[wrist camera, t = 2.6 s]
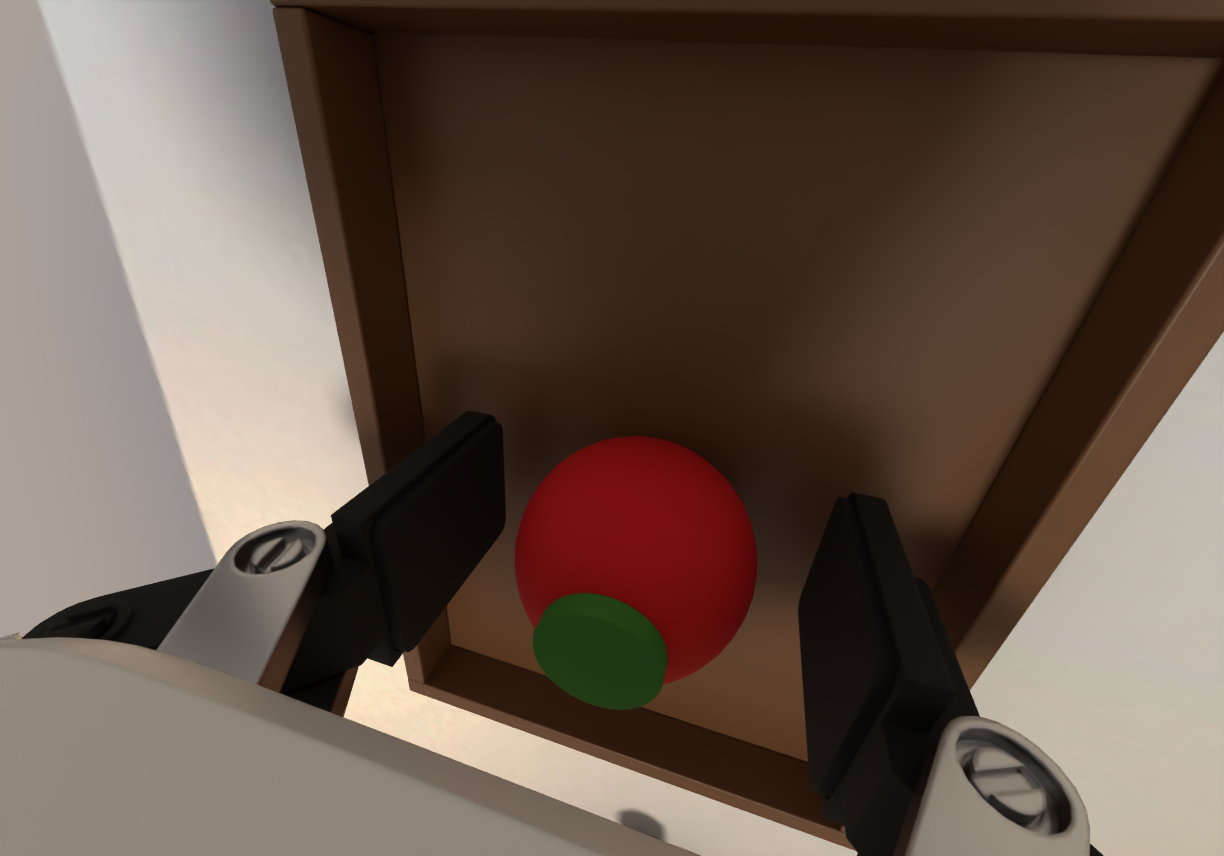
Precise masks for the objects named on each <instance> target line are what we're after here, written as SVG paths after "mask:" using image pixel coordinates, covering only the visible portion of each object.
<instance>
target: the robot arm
mask: <svg viewBox="0 0 1224 856" xmlns="http://www.w3.org/2000/svg"><path fill="white" fill-rule="evenodd" d="M331 518H332V522H333V523H331V524H330V525H329V526H328V527H326V528H325V529H322V528H321V527H320V526H319V525H317V524H315V523H311V522H308V521H294V520H293V521H286V522H278V523H275V524H272V525H268V526H265V527H262V528H260V529H258V530H256V531H253V532H251V533H249V534H247V535H246V536H245V537H243V538H242V539H240V540H239V541H237V542H236V543H235V544H234V545H233V546H232V547H231V548H230V549H229V550H228V551H227V552H226V554H225V555H224V556H223V558H222V559H221V561H220V562H219V563H218V565H217V566H216V568H215V569H210V570H206V571H202V572H198V573H194V574H190V575H186V576H182V577H177V578H174V579H169V580H165V581H161V582H157V583H153V584H149V585H145V586H141V587H137V588H132V589H129V590H124V591H120V592H116V593H112V594H108V595H104V596H100V597H96V598H93V599H90V600H87V601H83V602H80V603H77V604H75V605H73V606H70V607H68V608H66V609H64V610H62V611H60V612H58V613H56V614H54V615H53V616H51V617H50V618H48V619H46V620H45V621H43V622H41V623H40V624H38V625H37V626H36V627H34V628H33V629H32V630H31V631H30V632H28V633H27V634H26V635H25V636H24V637H22V636H21V635H20V634H19V633H16V634H12V635H9V636H5V637H2V638H0V856H700V855H697V854H695V853H692V852H689V851H687V850H684V849H682V848H679V847H677V846H674V845H672V844H669V843H667V842H664V841H661V840H659V839H656V838H654V837H651V836H649V835H646V834H644V833H641V832H639V831H636V830H633V829H631V828H628V827H626V826H623V825H621V824H618V823H616V822H613V821H611V820H608V819H605V818H603V817H600V816H598V815H595V814H593V813H590V812H587V811H585V810H582V809H580V808H577V807H575V806H572V805H569V804H567V803H564V802H562V801H559V800H556V799H554V798H551V797H549V796H546V795H544V794H541V793H538V792H536V791H533V790H531V789H528V788H526V787H523V786H520V785H518V784H515V783H513V782H510V781H507V780H505V779H502V778H500V777H497V776H495V775H492V774H489V773H487V772H484V771H482V770H479V769H476V768H474V767H471V766H469V765H466V764H463V763H461V762H458V761H456V760H453V759H451V758H448V757H445V756H443V755H440V754H438V753H435V752H432V751H430V750H427V749H425V748H422V747H419V746H417V745H414V744H412V743H409V742H406V741H404V740H401V739H399V738H396V737H393V736H391V735H388V734H385V733H383V732H380V731H378V730H375V729H372V728H370V727H367V726H364V725H362V724H359V723H357V722H354V721H351V720H349V719H346V718H343V717H344V714H345V711H346V707H347V704H348V700H349V697H350V694H351V690H352V687H353V684H354V680H355V677H356V674H357V670H358V666H360V665H362V664H363V663H364V661H365V660H366V659H367V658H368V659H371V660H374V661H376V662H379V663H382V664H385V665H388V666H391V667H393V666H394V664H395V663H396V662H397V660H398V659H399V658H400V656H401V655H402V654H403V653H404V651H405V652H410V651H412V650H413V649H414V648H415V647H416V646H417V645H418V643H419V642H420V641H421V639H422V638H423V637H424V635H425V634H426V633H427V631H428V630H429V629H430V627H431V626H432V625H433V623H434V622H435V621H436V619H437V618H438V617H439V615H440V614H441V613H442V611H443V610H444V609H445V607H446V606H447V605H448V603H449V602H450V601H451V600H452V598H453V597H454V596H455V594H456V593H457V592H458V590H459V589H460V588H461V586H462V585H463V584H464V582H465V581H466V580H467V578H468V577H469V576H470V574H471V573H472V572H473V570H474V569H475V568H476V566H477V565H478V564H479V562H480V561H481V560H482V558H483V557H484V556H485V554H486V553H487V552H488V550H489V549H490V548H491V547H492V545H493V544H494V543H495V541H496V540H497V539H498V537H499V536H500V535H501V533H502V531H503V529H504V526H505V523H506V501H505V473H504V446H503V427H502V425H501V424H500V423H497V420H496V418H495V417H494V416H493V415H490V414H485V413H480V412H475V411H467V412H465V413H464V414H462V415H461V416H460V417H458V418H457V419H456V420H454V421H453V422H452V423H451V424H449V425H448V426H447V427H445V428H444V429H443V430H441V431H440V432H439V433H437V434H436V435H435V436H434V437H432V438H431V439H430V440H428V441H427V442H426V443H424V444H423V445H422V446H421V447H419V448H418V449H417V450H415V451H414V452H413V453H411V454H410V455H409V456H408V457H406V458H405V459H404V460H402V461H401V462H400V463H398V464H397V465H396V466H394V467H393V468H392V469H391V470H389V471H388V472H387V473H385V474H384V475H383V476H381V477H380V478H379V479H378V480H376V481H375V482H374V483H372V484H371V485H370V486H368V487H367V488H366V489H364V490H363V491H362V492H361V493H359V494H358V495H357V496H355V497H354V498H353V499H351V500H350V501H349V502H348V503H346V504H345V505H344V506H342V507H341V508H340V509H338V510H337V511H336V512H335V513H333V514H332V515H331ZM798 622H799V637H800V652H801V667H802V682H803V696H804V711H805V726H806V741H807V756H808V771H809V782H810V787H811V789H812V791H814V792H817V793H820V794H821V797H822V809H823V819H825V820H828V821H831V822H834V823H837V824H840V825H842V826H845V833H846V838H847V840H848V841H849V842H850V843H851V845H852V846H853V847H854V849H855V850H856V851H857V852H858V855H857V856H1103V855H1102V854H1101V853H1100V852H1099V851H1098V850H1097V849H1096V848H1094V847H1093V846H1092V845H1091V844H1090V826H1089V821H1088V815H1087V810H1086V807H1085V805H1084V803H1083V801H1082V800H1081V798H1080V796H1079V794H1078V792H1077V790H1076V788H1075V786H1074V785H1073V784H1072V782H1071V781H1070V780H1069V779H1068V777H1067V776H1066V775H1065V773H1064V772H1063V771H1062V770H1061V768H1060V767H1059V766H1058V765H1057V764H1056V763H1055V762H1054V761H1053V760H1052V759H1051V758H1050V757H1049V756H1048V755H1047V754H1046V753H1045V752H1043V751H1042V750H1041V749H1040V748H1039V747H1038V746H1037V745H1035V744H1034V743H1032V742H1031V741H1030V740H1028V739H1027V738H1025V737H1024V736H1023V735H1021V734H1020V733H1018V732H1016V731H1015V730H1013V729H1011V728H1009V727H1007V726H1005V725H1003V724H1001V723H999V722H997V721H993V720H990V719H986V718H983V717H980V716H979V713H978V710H977V708H976V705H975V703H974V700H973V698H972V695H971V693H970V690H969V688H968V685H967V683H966V680H965V677H964V675H963V672H962V670H961V667H960V665H959V662H958V660H957V657H956V655H955V652H954V649H953V647H952V644H951V642H950V639H949V637H948V634H947V632H946V629H945V627H944V624H943V621H942V619H941V616H940V614H939V611H938V609H937V606H936V604H935V601H934V599H933V596H932V594H931V591H930V589H929V587H928V585H927V583H926V582H925V581H924V580H923V579H921V578H918V577H914V576H913V573H912V570H911V567H910V565H909V562H908V559H907V556H906V554H905V551H904V548H903V545H902V543H901V540H900V537H899V535H898V532H897V529H896V526H895V524H894V521H893V518H892V515H891V513H890V510H889V507H888V504H887V502H886V500H885V499H883V498H879V497H874V496H869V495H865V494H860V493H855V492H852V493H850V494H849V496H848V497H847V498H843V497H838V498H837V500H836V502H835V504H834V507H833V510H832V512H831V515H830V518H829V520H828V523H827V526H826V528H825V531H824V534H823V536H822V539H821V542H820V544H819V547H818V550H817V552H816V555H815V558H814V560H813V563H812V566H811V568H810V571H809V574H808V577H807V579H806V582H805V585H804V587H803V590H802V593H801V596H800V599H799V605H798Z"/></svg>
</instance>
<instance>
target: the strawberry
mask: <svg viewBox="0 0 1224 856" xmlns="http://www.w3.org/2000/svg"><path fill="white" fill-rule="evenodd" d="M515 575H516V582H517V587H518V592H519V595H520V599H521V602H522V604H523V607H524V609H525V612H526V614H527V617H528V619H529V621H530V622H531V624H532V626H533V628H534V629H535V630H534V634H533V641H532V645H533V652H534V656H535V658H536V660H537V662H538V664H539V666H540V668H541V669H542V670H543V672H544V673H545V674H546V675H547V676H548V677H549V679H550V680H552V681H553V682H554V683H555V684H556V685H557V686H558V687H560V688H561V689H562V690H564V691H565V692H567V693H568V694H570V695H572V696H574V697H575V698H577V699H579V700H582V701H584V702H586V703H589V704H592V705H595V706H599V707H603V708H608V709H619V710H624V709H633V708H638V707H641V706H644V705H646V704H648V703H649V702H651V701H652V700H653V699H654V698H655V697H656V696H657V695H658V694H659V692H660V691H661V689H662V686H663V684H667V683H671V682H674V681H677V680H680V679H682V678H684V677H686V676H689V675H691V674H693V673H695V672H697V671H698V670H700V669H701V668H703V667H704V666H705V665H707V664H708V663H709V662H711V661H712V660H713V659H715V658H716V657H717V656H718V655H719V654H720V653H721V652H722V651H723V650H724V649H725V648H726V646H727V645H728V644H729V643H730V642H731V641H732V639H733V638H734V636H735V635H736V633H737V632H738V630H739V629H740V627H741V625H742V623H743V622H744V620H745V618H746V615H747V613H748V610H749V608H750V605H751V602H752V599H753V595H754V590H755V585H756V578H757V548H756V541H755V535H754V532H753V528H752V525H751V522H750V519H749V516H748V513H747V511H746V509H745V507H744V505H743V503H742V501H741V499H740V498H739V496H738V494H737V493H736V491H735V490H734V488H733V487H732V485H731V484H730V483H729V481H728V480H727V479H726V478H725V477H724V476H723V475H722V474H721V473H720V472H719V471H718V470H717V469H716V468H715V467H714V466H713V465H711V464H710V463H709V462H708V461H707V460H705V459H704V458H702V457H701V456H699V455H698V454H697V453H695V452H693V451H691V450H689V449H687V448H685V447H683V446H681V445H678V444H676V443H673V442H670V441H666V440H663V439H659V438H652V437H645V436H627V437H616V438H611V439H607V440H602V441H600V442H597V443H594V444H592V445H589V446H586V447H584V448H582V449H580V450H578V451H577V452H575V453H573V454H571V455H570V456H569V457H567V458H566V459H565V460H563V461H562V462H561V463H559V464H558V465H557V466H555V468H554V469H553V470H552V471H551V472H550V473H549V474H548V475H547V476H546V477H545V478H544V479H543V481H542V482H541V483H540V484H539V486H538V487H537V489H536V490H535V492H534V494H533V495H532V497H531V498H530V500H529V502H528V504H527V506H526V509H525V511H524V514H523V516H522V519H521V522H520V525H519V529H518V534H517V539H516V545H515Z"/></svg>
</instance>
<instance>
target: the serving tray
mask: <svg viewBox="0 0 1224 856" xmlns="http://www.w3.org/2000/svg"><path fill="white" fill-rule="evenodd" d="M270 2H271V4H273V5H274V6H276V8H273V16H274V21H275V26H276V31H277V36H278V41H279V46H280V51H281V55H282V60H283V65H284V70H285V75H286V80H287V85H288V90H289V95H290V100H291V105H292V110H293V115H294V119H295V124H296V129H297V134H298V139H299V144H300V149H301V154H302V159H303V164H304V169H305V174H306V179H307V183H308V188H309V193H310V198H311V203H312V208H313V213H314V218H315V223H316V228H317V233H318V238H319V243H320V247H321V252H322V257H323V262H324V267H325V272H326V277H327V282H328V287H329V292H330V297H331V302H332V307H333V311H334V316H335V321H336V326H337V331H338V336H339V341H340V346H341V351H342V356H343V361H344V366H345V371H346V375H347V380H348V385H349V390H350V395H351V400H352V405H353V410H354V415H355V420H356V425H357V430H358V434H359V439H360V444H361V449H362V454H363V459H364V464H365V469H366V474H367V479H368V484H369V486H370V485H371V484H372V483H374V482H375V481H376V480H378V479H379V478H380V477H381V476H383V475H384V474H385V473H387V472H388V471H389V470H391V469H392V468H393V467H394V466H396V465H397V464H398V463H400V462H401V461H402V460H404V459H405V458H406V457H408V456H409V455H410V454H411V453H413V452H414V451H415V450H417V449H418V448H419V447H421V446H422V445H423V444H424V443H426V442H427V441H428V440H430V439H431V438H432V437H434V436H435V435H436V434H437V433H439V432H440V431H441V430H443V429H444V428H445V427H447V426H448V425H449V424H451V423H452V422H453V421H454V420H456V419H457V418H458V417H460V416H461V415H462V414H464V413H465V412H467V411H475V412H480V413H485V414H490V415H493V416H494V417H495V418H496V420H497V423H500V424H501V425H502V427H503V446H504V473H505V501H506V523H505V526H504V529H503V531H502V533H501V535H500V536H499V537H498V539H497V540H496V541H495V543H494V544H493V545H492V547H491V548H490V549H489V550H488V552H487V553H486V554H485V556H484V557H483V558H482V560H481V561H480V562H479V564H478V565H477V566H476V568H475V569H474V570H473V572H472V573H471V574H470V576H469V577H468V578H467V580H466V581H465V582H464V584H463V585H462V586H461V588H460V589H459V590H458V592H457V593H456V594H455V596H454V597H453V598H452V600H451V601H450V602H449V603H448V605H447V606H446V607H445V609H444V610H443V611H442V613H441V614H440V615H439V617H438V618H437V619H436V621H435V622H434V623H433V625H432V626H431V627H430V629H429V630H428V631H427V633H426V634H425V635H424V637H423V638H422V639H421V641H420V642H419V643H418V645H417V646H416V647H415V648H414V649H413V650H412V651H410V652H405V651H404V653H403V656H404V661H405V666H406V671H407V676H408V682H409V687H410V690H411V691H414V692H417V693H419V694H422V695H425V696H428V697H431V698H433V699H436V700H439V701H442V702H444V703H447V704H450V705H453V706H455V707H458V708H461V709H464V710H467V711H469V712H472V713H475V714H478V715H480V716H483V717H486V718H489V719H492V720H494V721H497V722H500V723H503V724H505V725H508V726H511V727H514V728H516V729H519V730H522V731H525V732H528V733H530V734H533V735H536V736H539V737H541V738H544V739H547V740H550V741H553V742H555V743H558V744H561V745H564V746H566V747H569V748H572V749H575V750H578V751H580V752H583V753H586V754H589V755H591V756H594V757H597V758H600V759H602V760H605V761H608V762H611V763H614V764H616V765H619V766H622V767H625V768H627V769H630V770H633V771H636V772H639V773H641V774H644V775H647V776H650V777H652V778H655V779H658V780H661V781H664V782H666V783H669V784H672V785H675V786H677V787H680V788H683V789H686V790H688V791H691V792H694V793H697V794H700V795H702V796H705V797H708V798H711V799H713V800H716V801H719V802H722V803H725V804H727V805H730V806H733V807H736V808H738V809H741V810H744V811H747V812H750V813H752V814H755V815H758V816H761V817H763V818H766V819H769V820H772V821H774V822H777V823H780V824H783V825H786V826H788V827H791V828H794V829H797V830H799V831H802V832H805V833H808V834H811V835H813V836H816V837H819V838H822V839H824V840H827V841H830V842H833V843H836V844H838V845H841V846H844V847H847V848H849V849H852V850H855V849H854V847H853V846H852V845H851V843H850V842H849V841H848V840H847V838H846V833H845V826H842V825H840V824H837V823H834V822H831V821H828V820H825V819H823V809H822V797H821V794H820V793H817V792H814V791H812V789H811V787H810V782H809V771H808V756H807V741H806V726H805V711H804V696H803V682H802V667H801V652H800V637H799V622H798V605H799V599H800V596H801V593H802V590H803V587H804V585H805V582H806V579H807V577H808V574H809V571H810V568H811V566H812V563H813V560H814V558H815V555H816V552H817V550H818V547H819V544H820V542H821V539H822V536H823V534H824V531H825V528H826V526H827V523H828V520H829V518H830V515H831V512H832V510H833V507H834V504H835V502H836V500H837V498H838V497H843V498H847V497H848V496H849V494H850V493H852V492H855V493H860V494H865V495H869V496H874V497H879V498H883V499H885V500H886V502H887V504H888V507H889V510H890V513H891V515H892V518H893V521H894V524H895V526H896V529H897V532H898V535H899V537H900V540H901V543H902V545H903V548H904V551H905V554H906V556H907V559H908V562H909V565H910V567H911V570H912V573H913V576H914V577H918V578H921V579H923V580H924V581H925V582H926V583H927V585H928V587H929V589H930V591H931V594H932V596H933V599H934V601H935V604H936V606H937V609H938V611H939V614H940V616H941V619H942V621H943V624H944V627H945V629H946V632H947V634H948V637H949V639H950V642H951V644H952V647H953V649H954V652H955V655H956V657H957V660H958V662H959V665H960V667H961V670H962V672H963V675H964V677H965V680H966V683H967V685H968V688H969V690H970V689H971V688H972V686H973V685H974V684H975V682H976V681H977V679H978V678H979V676H980V675H981V674H982V672H983V671H984V669H985V668H986V667H987V665H988V664H989V662H990V661H991V660H992V658H993V657H994V655H995V654H996V652H997V651H998V650H999V648H1000V647H1001V645H1002V644H1003V643H1004V641H1005V640H1006V638H1007V637H1008V635H1009V634H1010V633H1011V631H1012V630H1013V628H1014V627H1015V626H1016V624H1017V623H1018V621H1019V620H1020V619H1021V617H1022V616H1023V614H1024V613H1025V611H1026V610H1027V609H1028V607H1029V606H1030V604H1031V603H1032V602H1033V600H1034V599H1035V597H1036V596H1037V595H1038V593H1039V592H1040V590H1041V589H1042V587H1043V586H1044V585H1045V583H1046V582H1047V580H1048V579H1049V578H1050V576H1051V575H1052V573H1053V572H1054V570H1055V569H1056V568H1057V566H1058V565H1059V563H1060V562H1061V561H1062V559H1063V558H1064V556H1065V555H1066V554H1067V552H1068V551H1069V549H1070V548H1071V546H1072V545H1073V544H1074V542H1075V541H1076V539H1077V538H1078V537H1079V535H1080V534H1081V532H1082V531H1083V530H1084V528H1085V527H1086V525H1087V524H1088V522H1089V521H1090V520H1091V518H1092V517H1093V515H1094V514H1095V513H1096V511H1097V510H1098V508H1099V507H1100V505H1101V504H1102V503H1103V501H1104V500H1105V498H1106V497H1107V496H1108V494H1109V493H1110V491H1111V490H1112V489H1113V487H1114V486H1115V484H1116V483H1117V481H1118V480H1119V479H1120V477H1121V476H1122V474H1123V473H1124V472H1125V470H1126V469H1127V467H1128V466H1129V465H1130V463H1131V462H1132V460H1133V459H1134V457H1135V456H1136V455H1137V453H1138V452H1139V450H1140V449H1141V448H1142V446H1143V445H1144V443H1145V442H1146V440H1147V439H1148V438H1149V436H1150V435H1151V433H1152V432H1153V431H1154V429H1155V428H1156V426H1157V425H1158V424H1159V422H1160V421H1161V419H1162V418H1163V416H1164V415H1165V414H1166V412H1167V411H1168V409H1169V408H1170V407H1171V405H1172V404H1173V402H1174V401H1175V400H1176V398H1177V397H1178V395H1179V394H1180V392H1181V391H1182V390H1183V388H1184V387H1185V385H1186V384H1187V383H1188V381H1189V380H1190V378H1191V377H1192V375H1193V374H1194V373H1195V371H1196V370H1197V368H1198V367H1199V366H1200V364H1201V363H1202V361H1203V360H1204V359H1205V357H1206V356H1207V354H1208V353H1209V351H1210V350H1211V349H1212V347H1213V346H1214V344H1215V343H1216V342H1217V340H1218V339H1219V337H1220V336H1221V335H1222V333H1223V332H1224V0H270ZM627 436H645V437H652V438H659V439H663V440H666V441H670V442H673V443H676V444H678V445H681V446H683V447H685V448H687V449H689V450H691V451H693V452H695V453H697V454H698V455H699V456H701V457H702V458H704V459H705V460H707V461H708V462H709V463H710V464H711V465H713V466H714V467H715V468H716V469H717V470H718V471H719V472H720V473H721V474H722V475H723V476H724V477H725V478H726V479H727V480H728V481H729V483H730V484H731V485H732V487H733V488H734V490H735V491H736V493H737V494H738V496H739V498H740V499H741V501H742V503H743V505H744V507H745V509H746V511H747V513H748V516H749V519H750V522H751V525H752V528H753V532H754V535H755V541H756V548H757V578H756V585H755V590H754V595H753V599H752V602H751V605H750V608H749V610H748V613H747V615H746V618H745V620H744V622H743V623H742V625H741V627H740V629H739V630H738V632H737V633H736V635H735V636H734V638H733V639H732V641H731V642H730V643H729V644H728V645H727V646H726V648H725V649H724V650H723V651H722V652H721V653H720V654H719V655H718V656H717V657H716V658H715V659H713V660H712V661H711V662H709V663H708V664H707V665H705V666H704V667H703V668H701V669H700V670H698V671H697V672H695V673H693V674H691V675H689V676H686V677H684V678H682V679H680V680H677V681H674V682H671V683H667V684H663V686H662V689H661V691H660V692H659V694H658V695H657V696H656V697H655V698H654V699H653V700H652V701H651V702H649V703H648V704H646V705H644V706H641V707H638V708H633V709H624V710H619V709H608V708H603V707H599V706H595V705H592V704H589V703H586V702H584V701H582V700H579V699H577V698H575V697H574V696H572V695H570V694H568V693H567V692H565V691H564V690H562V689H561V688H560V687H558V686H557V685H556V684H555V683H554V682H553V681H552V680H550V679H549V677H548V676H547V675H546V674H545V673H544V672H543V670H542V669H541V668H540V666H539V664H538V662H537V660H536V658H535V656H534V652H533V645H532V641H533V634H534V630H535V629H534V628H533V626H532V624H531V622H530V621H529V619H528V617H527V614H526V612H525V609H524V607H523V604H522V602H521V599H520V595H519V592H518V587H517V582H516V575H515V545H516V539H517V534H518V529H519V525H520V522H521V519H522V516H523V514H524V511H525V509H526V506H527V504H528V502H529V500H530V498H531V497H532V495H533V494H534V492H535V490H536V489H537V487H538V486H539V484H540V483H541V482H542V481H543V479H544V478H545V477H546V476H547V475H548V474H549V473H550V472H551V471H552V470H553V469H554V468H555V466H557V465H558V464H559V463H561V462H562V461H563V460H565V459H566V458H567V457H569V456H570V455H571V454H573V453H575V452H577V451H578V450H580V449H582V448H584V447H586V446H589V445H592V444H594V443H597V442H600V441H602V440H607V439H611V438H616V437H627ZM855 851H856V850H855Z"/></svg>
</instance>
